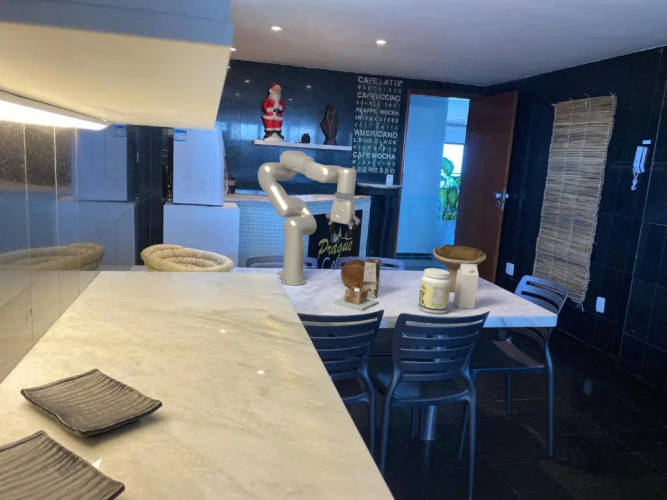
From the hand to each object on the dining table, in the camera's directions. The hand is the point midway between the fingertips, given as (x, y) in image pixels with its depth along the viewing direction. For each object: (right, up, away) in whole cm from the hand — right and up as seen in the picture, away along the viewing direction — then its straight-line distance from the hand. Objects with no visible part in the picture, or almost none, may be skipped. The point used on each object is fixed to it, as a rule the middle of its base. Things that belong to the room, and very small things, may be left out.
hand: (340, 235), depth 220 cm
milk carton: (+54, -31, 0) cm, 62 cm away
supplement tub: (+38, -32, -10) cm, 51 cm away
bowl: (+57, -26, +30) cm, 70 cm away
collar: (+6, -28, -8) cm, 30 cm away
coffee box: (+13, -27, +6) cm, 31 cm away
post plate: (+6, -29, -8) cm, 31 cm away
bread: (+8, -23, +27) cm, 36 cm away
